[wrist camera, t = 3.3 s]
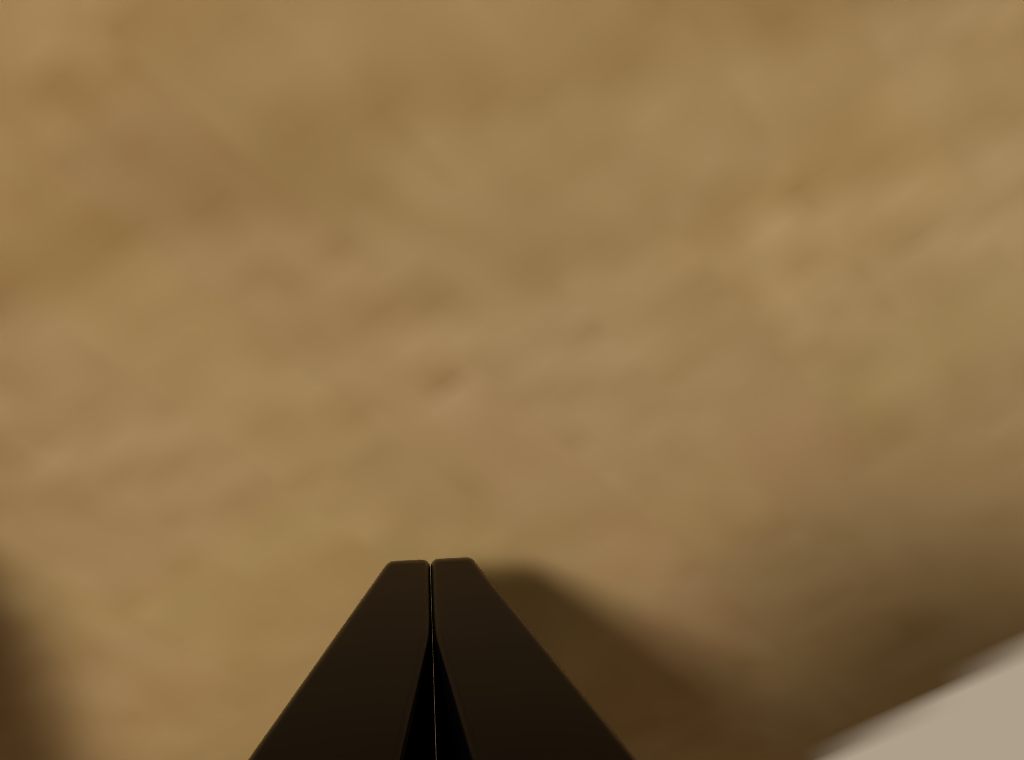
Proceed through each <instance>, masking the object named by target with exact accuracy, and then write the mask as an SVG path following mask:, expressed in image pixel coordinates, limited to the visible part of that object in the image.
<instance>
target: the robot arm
mask: <svg viewBox="0 0 1024 760" xmlns="http://www.w3.org/2000/svg"><path fill="white" fill-rule="evenodd" d="M431 599H432V612H431ZM432 632H433V644H432ZM433 664H434V678H433ZM434 696H435V711H434ZM435 727H436V744H435ZM436 759H437V760H636V759H635V757H634V756H633V755H632V754H631V752H630V751H629V750H628V749H627V748H626V746H625V745H624V744H623V743H622V741H621V740H620V739H619V738H618V737H617V735H616V734H615V733H614V732H613V730H612V729H611V728H610V727H609V726H608V724H607V723H606V722H605V721H604V719H603V718H602V717H601V716H600V715H599V713H598V712H597V711H596V710H595V708H594V707H593V706H592V705H591V704H590V702H589V701H588V700H587V699H586V697H585V696H584V695H583V694H582V692H581V691H580V690H579V689H578V688H577V686H576V685H575V684H574V683H573V681H572V680H571V679H570V678H569V677H568V675H567V674H566V673H565V672H564V670H563V669H562V668H561V667H560V666H559V664H558V663H557V662H556V661H555V659H554V658H553V657H552V656H551V655H550V653H549V652H548V651H547V650H546V648H545V647H544V646H543V645H542V644H541V642H540V641H539V640H538V639H537V637H536V636H535V635H534V634H533V633H532V631H531V630H530V629H529V628H528V626H527V625H526V624H525V623H524V622H523V620H522V619H521V618H520V617H519V615H518V614H517V613H516V612H515V611H514V609H513V608H512V607H511V606H510V604H509V603H508V602H507V601H506V600H505V598H504V597H503V596H502V595H501V593H500V592H499V591H498V590H497V589H496V587H495V586H494V585H493V584H492V582H491V581H490V580H489V579H488V578H487V576H486V575H485V574H484V573H483V571H482V570H481V569H480V568H479V567H478V565H477V564H476V563H475V562H474V561H473V560H472V559H470V558H467V557H465V558H446V559H435V560H434V561H433V562H432V563H431V581H430V564H429V563H428V562H427V561H426V560H405V561H392V562H390V563H388V564H387V565H386V566H385V568H384V569H383V570H382V572H381V573H380V575H379V576H378V577H377V579H376V580H375V582H374V583H373V584H372V586H371V587H370V589H369V590H368V592H367V593H366V594H365V596H364V597H363V599H362V600H361V601H360V603H359V604H358V606H357V607H356V608H355V610H354V611H353V613H352V614H351V615H350V617H349V618H348V620H347V621H346V623H345V624H344V625H343V627H342V628H341V630H340V631H339V632H338V634H337V635H336V637H335V638H334V639H333V641H332V642H331V644H330V645H329V647H328V648H327V649H326V651H325V652H324V654H323V655H322V656H321V658H320V659H319V661H318V662H317V663H316V665H315V666H314V668H313V669H312V671H311V672H310V673H309V675H308V676H307V678H306V679H305V680H304V682H303V683H302V685H301V686H300V687H299V689H298V690H297V692H296V693H295V695H294V696H293V697H292V699H291V700H290V702H289V703H288V704H287V706H286V707H285V709H284V710H283V711H282V713H281V714H280V716H279V717H278V719H277V720H276V721H275V723H274V724H273V726H272V727H271V728H270V730H269V731H268V733H267V734H266V735H265V737H264V738H263V740H262V741H261V742H260V744H259V745H258V747H257V748H256V750H255V751H254V752H253V754H252V755H251V757H250V758H249V759H248V760H436Z"/></svg>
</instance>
